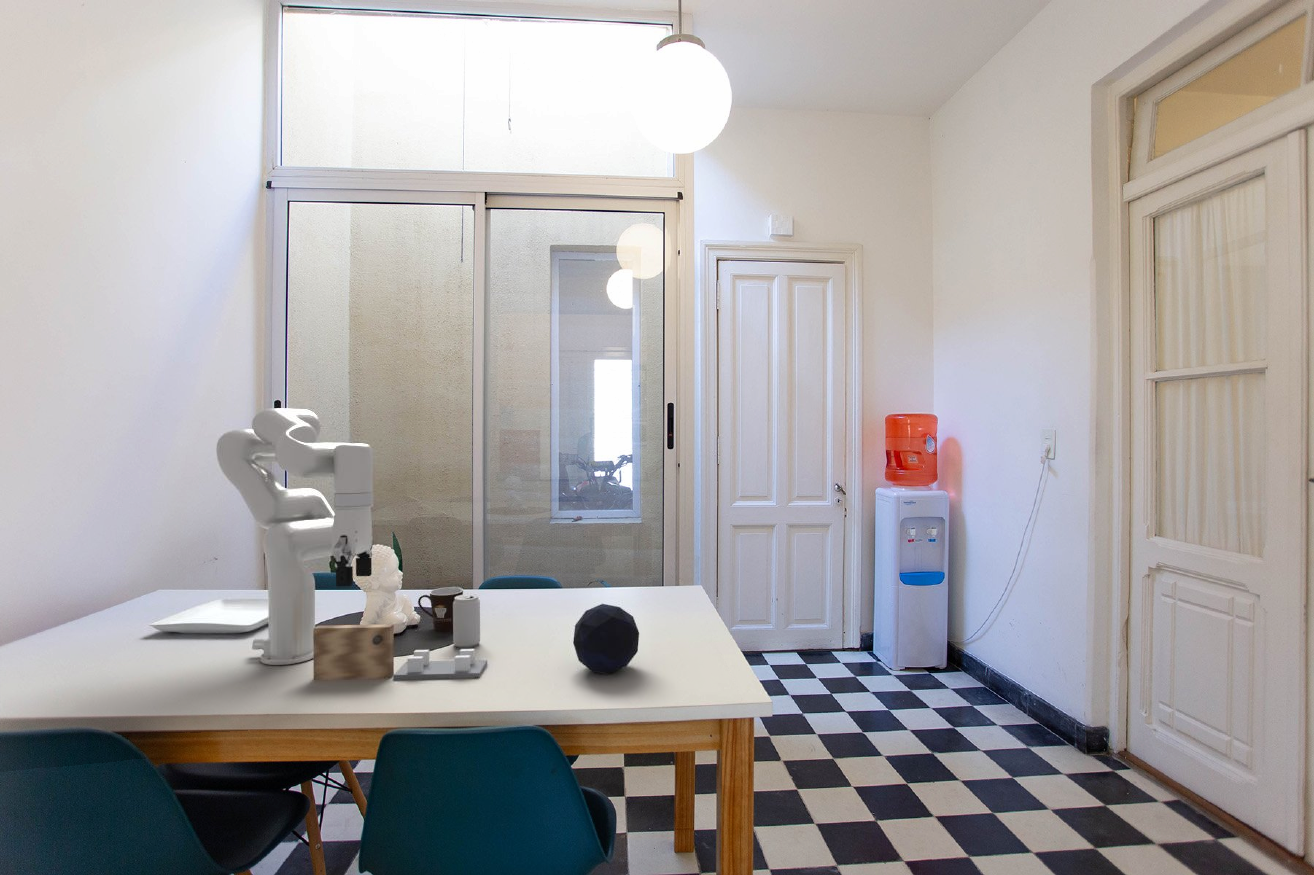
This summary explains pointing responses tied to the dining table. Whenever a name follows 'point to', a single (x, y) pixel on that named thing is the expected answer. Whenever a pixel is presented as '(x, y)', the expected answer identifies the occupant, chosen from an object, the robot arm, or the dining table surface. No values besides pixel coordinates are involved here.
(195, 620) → the square plate
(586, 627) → the decorative orb
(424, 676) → the hinge base
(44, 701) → the dining table surface
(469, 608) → the beverage can
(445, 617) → the coffee mug
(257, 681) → the dining table surface
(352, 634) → the door panel
